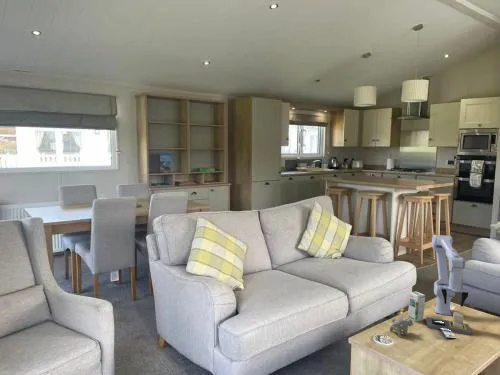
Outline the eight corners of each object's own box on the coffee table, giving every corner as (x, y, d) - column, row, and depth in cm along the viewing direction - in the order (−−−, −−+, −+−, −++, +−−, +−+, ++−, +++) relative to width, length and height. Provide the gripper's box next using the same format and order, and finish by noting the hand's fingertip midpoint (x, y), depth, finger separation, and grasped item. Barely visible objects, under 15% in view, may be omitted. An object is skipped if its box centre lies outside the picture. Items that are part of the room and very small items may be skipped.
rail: (425, 319, 207) (426, 316, 206) (467, 326, 199) (467, 323, 199) (427, 327, 197) (427, 324, 197) (470, 335, 190) (471, 332, 190)
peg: (452, 326, 199) (453, 311, 198) (461, 328, 198) (462, 313, 197) (453, 329, 195) (454, 315, 195) (462, 331, 194) (463, 316, 193)
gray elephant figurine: (386, 332, 192) (387, 318, 190) (399, 324, 199) (400, 311, 198) (403, 340, 184) (404, 325, 183) (416, 332, 192) (417, 317, 190)
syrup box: (407, 317, 208) (409, 292, 206) (415, 316, 210) (417, 290, 209) (415, 322, 203) (417, 296, 201) (423, 320, 205) (425, 294, 204)
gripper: (440, 280, 199) (438, 305, 200) (472, 284, 194) (470, 310, 195) (439, 276, 206) (437, 300, 207) (470, 280, 200) (467, 305, 201)
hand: (453, 304), depth 201 cm, fingers open, 7 cm apart
